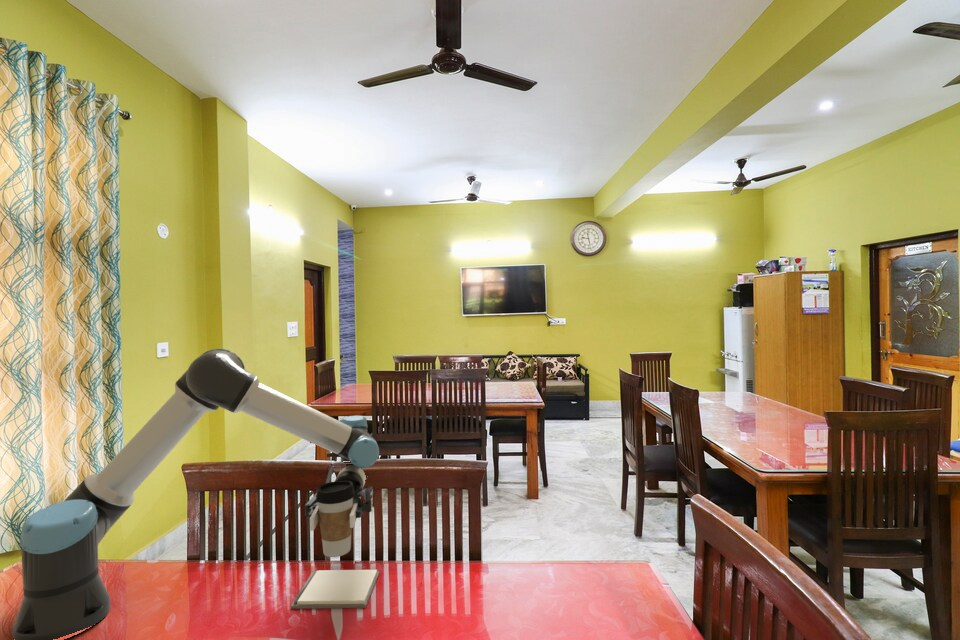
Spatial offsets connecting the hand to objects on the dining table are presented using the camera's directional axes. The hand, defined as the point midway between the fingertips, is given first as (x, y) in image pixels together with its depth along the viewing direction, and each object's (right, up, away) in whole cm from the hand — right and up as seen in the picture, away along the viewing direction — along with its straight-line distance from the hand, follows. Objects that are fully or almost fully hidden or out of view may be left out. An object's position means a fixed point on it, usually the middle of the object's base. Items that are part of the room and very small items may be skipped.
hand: (331, 522), depth 102 cm
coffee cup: (0, -9, +5) cm, 10 cm away
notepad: (0, -18, +5) cm, 18 cm away
